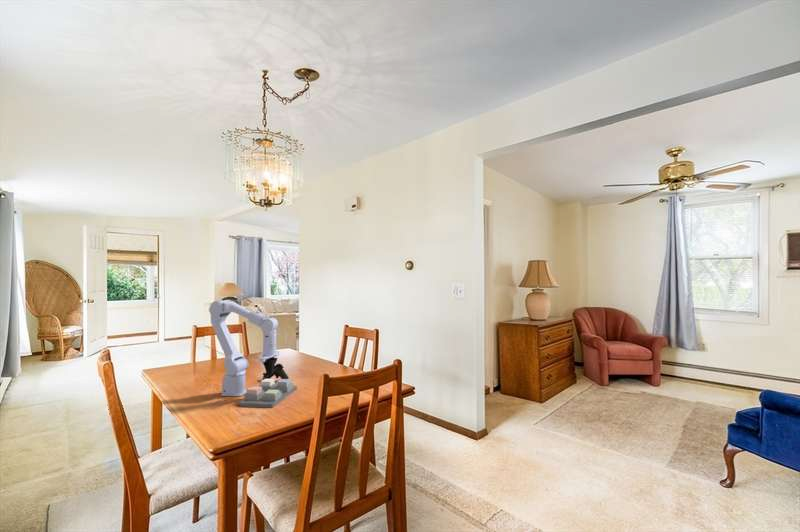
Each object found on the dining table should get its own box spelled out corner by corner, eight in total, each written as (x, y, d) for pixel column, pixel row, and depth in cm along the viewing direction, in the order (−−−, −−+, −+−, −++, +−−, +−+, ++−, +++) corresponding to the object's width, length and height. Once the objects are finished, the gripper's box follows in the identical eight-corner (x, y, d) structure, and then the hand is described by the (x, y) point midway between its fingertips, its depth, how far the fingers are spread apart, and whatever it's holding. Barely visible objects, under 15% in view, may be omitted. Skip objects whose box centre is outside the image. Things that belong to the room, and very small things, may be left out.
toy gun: (288, 378, 189) (277, 361, 190) (270, 392, 191) (259, 376, 192) (290, 376, 191) (279, 360, 192) (272, 390, 193) (262, 374, 194)
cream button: (260, 386, 170) (260, 381, 170) (265, 383, 174) (265, 378, 175) (270, 387, 169) (270, 381, 169) (274, 384, 174) (274, 378, 174)
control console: (238, 406, 154) (238, 397, 154) (267, 387, 179) (267, 380, 179) (272, 407, 152) (272, 398, 152) (296, 388, 177) (296, 380, 177)
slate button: (277, 387, 169) (277, 381, 169) (281, 384, 173) (281, 379, 174) (286, 387, 168) (286, 382, 168) (290, 384, 173) (290, 379, 173)
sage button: (264, 398, 157) (264, 392, 157) (269, 395, 162) (269, 389, 162) (274, 399, 156) (274, 393, 156) (279, 395, 161) (279, 389, 161)
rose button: (246, 395, 158) (246, 389, 158) (252, 392, 163) (252, 386, 163) (256, 395, 157) (256, 389, 157) (262, 392, 162) (262, 386, 162)
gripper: (270, 348, 161) (270, 379, 160) (285, 342, 175) (285, 370, 175) (255, 347, 162) (254, 378, 161) (271, 341, 176) (271, 370, 176)
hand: (269, 374), depth 168 cm, fingers closed
